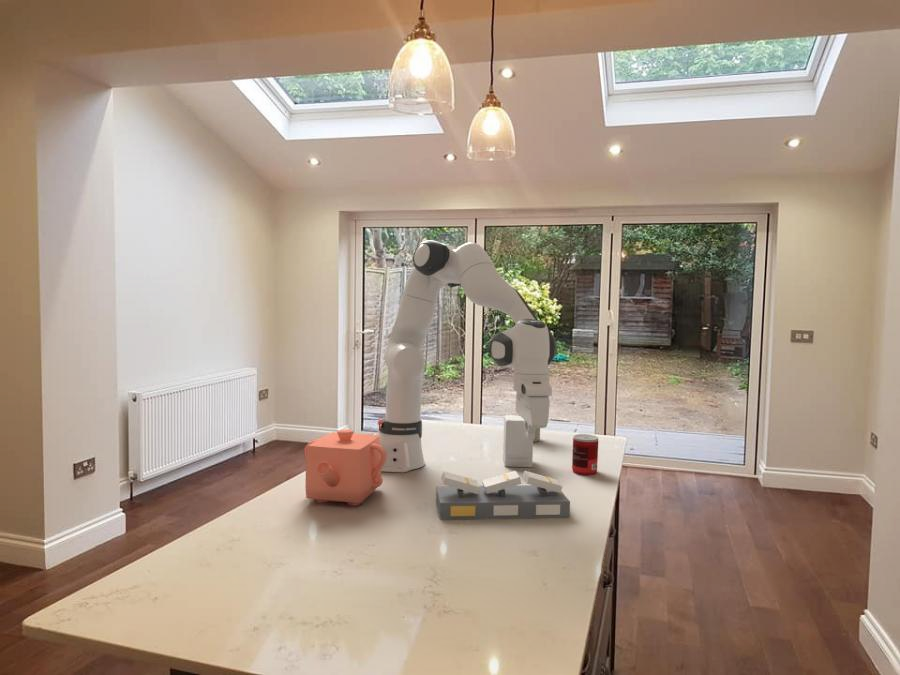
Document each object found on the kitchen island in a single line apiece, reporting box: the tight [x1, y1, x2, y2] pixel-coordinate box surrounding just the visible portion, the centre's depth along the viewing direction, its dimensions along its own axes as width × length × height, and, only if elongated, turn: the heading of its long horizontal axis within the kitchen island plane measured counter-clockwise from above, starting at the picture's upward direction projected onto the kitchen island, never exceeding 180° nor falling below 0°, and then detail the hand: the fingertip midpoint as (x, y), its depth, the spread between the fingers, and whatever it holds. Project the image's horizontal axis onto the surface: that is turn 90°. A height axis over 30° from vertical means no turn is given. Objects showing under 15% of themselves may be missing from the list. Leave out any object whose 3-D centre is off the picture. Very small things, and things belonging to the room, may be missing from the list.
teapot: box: [304, 428, 387, 506], centre depth 163 cm, size 25×23×18 cm
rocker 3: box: [522, 470, 563, 493], centre depth 161 cm, size 9×6×2 cm, turn 96°
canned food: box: [571, 433, 599, 476], centre depth 195 cm, size 8×8×11 cm
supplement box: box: [502, 414, 534, 468], centre depth 203 cm, size 9×9×15 cm
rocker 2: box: [481, 470, 522, 494], centre depth 160 cm, size 9×6×2 cm, turn 95°
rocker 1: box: [441, 470, 480, 494], centre depth 159 cm, size 9×6×2 cm, turn 96°
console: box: [435, 484, 571, 520], centre depth 160 cm, size 32×13×6 cm, turn 96°
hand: (530, 438), depth 160 cm, fingers closed
